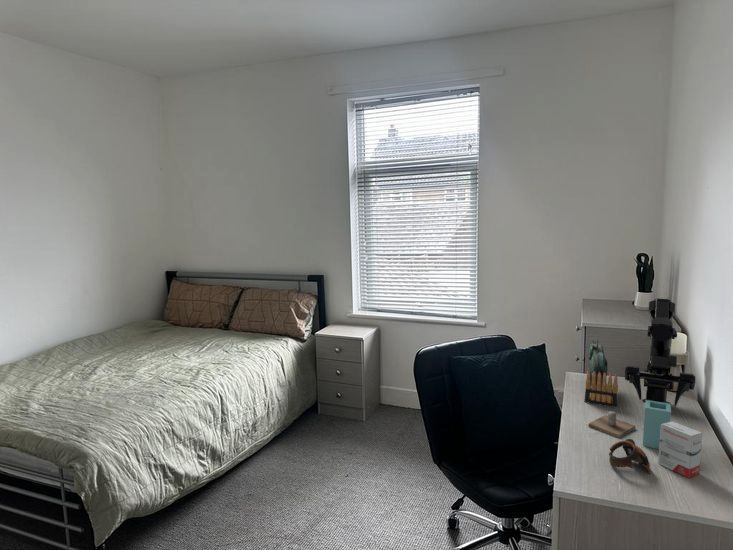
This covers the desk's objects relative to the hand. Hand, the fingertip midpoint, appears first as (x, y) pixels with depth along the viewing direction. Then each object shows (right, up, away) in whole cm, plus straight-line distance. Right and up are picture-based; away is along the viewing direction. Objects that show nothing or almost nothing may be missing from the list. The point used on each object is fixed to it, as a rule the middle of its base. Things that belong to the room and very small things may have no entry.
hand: (657, 402), depth 147 cm
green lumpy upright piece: (0, -6, +38) cm, 38 cm away
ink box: (-4, -14, -16) cm, 22 cm away
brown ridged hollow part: (-16, -14, -14) cm, 26 cm away
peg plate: (-10, -10, +9) cm, 17 cm away
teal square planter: (-2, -12, -2) cm, 12 cm away
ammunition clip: (-4, -8, +27) cm, 28 cm away
